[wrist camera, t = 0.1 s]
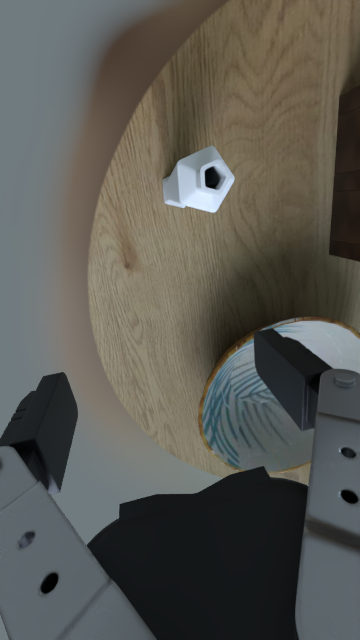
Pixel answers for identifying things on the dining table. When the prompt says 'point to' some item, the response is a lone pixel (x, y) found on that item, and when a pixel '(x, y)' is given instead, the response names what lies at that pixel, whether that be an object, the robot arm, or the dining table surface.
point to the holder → (347, 180)
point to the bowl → (267, 399)
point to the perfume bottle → (198, 181)
